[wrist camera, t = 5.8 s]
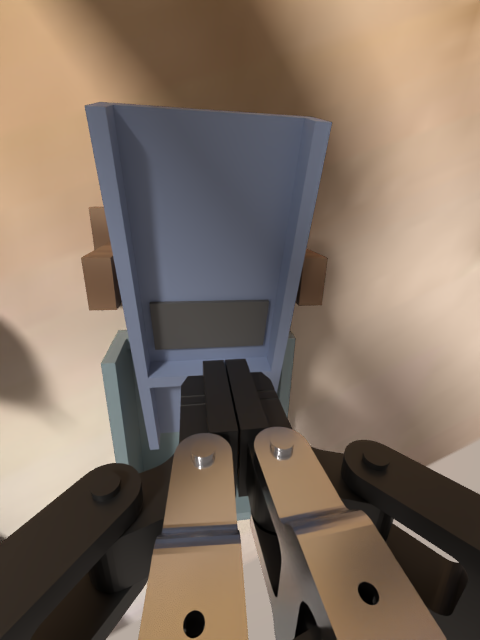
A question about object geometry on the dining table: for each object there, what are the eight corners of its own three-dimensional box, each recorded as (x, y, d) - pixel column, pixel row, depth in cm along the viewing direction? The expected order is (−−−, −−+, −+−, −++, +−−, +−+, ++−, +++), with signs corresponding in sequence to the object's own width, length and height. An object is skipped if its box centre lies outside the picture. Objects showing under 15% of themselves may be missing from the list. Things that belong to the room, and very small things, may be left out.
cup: (118, 330, 23) (100, 363, 19) (285, 325, 25) (307, 354, 20) (136, 479, 29) (126, 534, 24) (273, 466, 30) (288, 514, 26)
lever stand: (93, 206, 20) (37, 213, 13) (303, 211, 22) (360, 219, 15) (105, 296, 22) (63, 347, 15) (296, 293, 24) (342, 336, 17)
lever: (100, 101, 11) (84, 105, 10) (311, 117, 13) (331, 122, 11) (152, 421, 23) (149, 449, 21) (261, 413, 24) (267, 439, 22)
